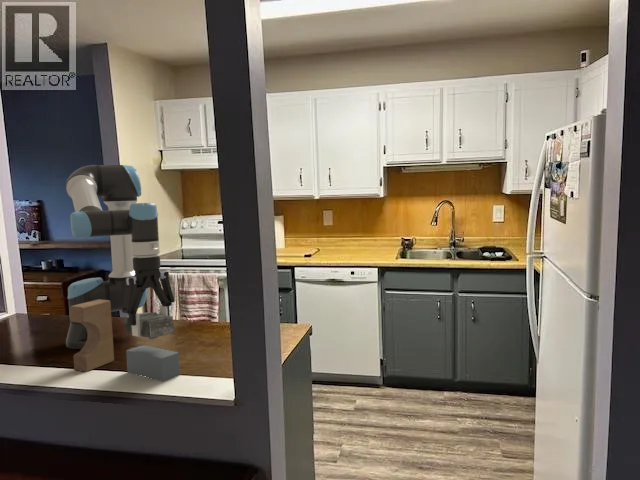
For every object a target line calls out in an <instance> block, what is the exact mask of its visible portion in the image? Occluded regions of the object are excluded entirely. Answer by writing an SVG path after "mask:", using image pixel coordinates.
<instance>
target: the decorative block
mask: <svg viewBox="0 0 640 480" xmlns="http://www.w3.org/2000/svg"><path fill="white" fill-rule="evenodd" d="M70 319H71V322H78V323H81V324H83V325H84V326H85V327H86V329H87V333H88V336H87V341H86V343H85V345H84V347H83V348H82V349H79V350H80V351H78V352H76V353H75V354H73V357H72V358H73V369H74V370H75V371H78V370H81V371H80V372H84V371H87V372H89V370H90V371H93V370H95V369H98V368H100V367H102V366H105V365H107V364H110V363H113V362H114V361H115V351H114V338H113V335H114V334H113V325H112V322H113V321H112V320H113V319H112V312H111V306H110V300H100V299H98V300H94V301H90V302H86V303H82V304H77V305H73V306H70V315H69V320H70Z"/></svg>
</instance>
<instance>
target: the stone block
mask: <svg viewBox="0 0 640 480" xmlns="http://www.w3.org/2000/svg"><path fill="white" fill-rule="evenodd" d="M138 314H139V318H140V334H141V336H140V337H144V338H148V339H150V340H153V339H157V338H159V337H162V336H163V337H164V336H166V335H169V334H172V335H173V334H175V333H176V329H175V325H174V317H173V316H171V315H169V316H167V315H160V313H157V312H156V311H155V312H149V311H148V312H147V311H146V312H140V313H138ZM123 321H124V331H125V332H126V333H130V334H132V325H130V324H129V315H126V316H123Z"/></svg>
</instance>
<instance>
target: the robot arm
mask: <svg viewBox="0 0 640 480" xmlns="http://www.w3.org/2000/svg"><path fill="white" fill-rule="evenodd" d="M65 190H66V193H67V194H68V196H69V198H71V200H72V204H73V208H74V211H73V212H72V213H71V214H70V229H71V235H72V236H73V237H74V238H85V239H87V238H95V237H107V236H110V250H111V253H110V254H111V263H112V264H111V267H112V271H111V272H110V273H109V274H108V280H104V279H103V278H102V277H98V276H97V277H91V278H90V277H89V278H85V279H81V280H77V281H75V282H72V283H71V284H70V285H68V287H67V300H68V310H69V311H68V313H69V316H70V306H73V305H77V304H82V303H86V302H90V301H94V300H98V299H100V300H110V306H111V313H112V312H118V311H119V312H120V311H121V312H122V313H123V314H128V316H129V324H130V325H132V333H131V335H132V336H133V337H139V338H140V337H142V336H141V334H140V318H139V314H140V313H138V310H139V309H140V308H142V307H143V306H145V303H146V300H147V296H148V295H147V294H148V289H149V288H152V290H153V291H154V293H155V295H156V297H157V298H158V300H159V302H160V304H161V305H159V314H160V315H167V316H170V307H171V306H172V303H174V302H175V297H174V294H173V290H172V286H171V283H170V282H171V281H170V272H169V271H163V270H162V271H161V270H160V268H161V257H160V241H159V240H160V239H159V222H158V221H159V219H158V217H159V213H158V209H157V204H156V203H154V202H138V198H139V197H141V196H142V184H141V178H140V175H139V171H138V170H137V168H136V167H135V166H133V165H127V164H125V165H124V164H99V165H98V164H91V165H84V166H81V167H80V168H78V169H75V170H74V171H73V172H72V173H71V174H70V175H69V177H68V178H67V179H66V183H65ZM99 198H103V199H102V200H103V204H105V205H106V206H107V208H108V210H103V208H102V206H101V202H100V200H99ZM137 202H138V203H137ZM87 336H88V333H87V329H86V327H85V326H84V325H83V324H81V323H78V322H71V319H70V318H69V328H68V330H67V334H66V338H65V346H66V347H65V348H67V349H71V350H81V349H82V348H83V347H84V345H85V343H86V341H87Z"/></svg>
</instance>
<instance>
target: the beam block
mask: <svg viewBox="0 0 640 480" xmlns="http://www.w3.org/2000/svg"><path fill="white" fill-rule="evenodd" d="M125 352H126V353H125V354H126V356H125V357H126V367H127V368H126V369H127V371H126V372H127V373H129V374H133V375H135V374H137V376H139V375H142V376H141V377H143V376H146V377H149V378H148V379H150V378H152V379H151V380H154V379H155V381H159V382H162V383H164V382H166V381H168V380H169V381H170V380H171V379H174V378H176V377H179V376H180V374H181V373H180V372H181V371H180V356H179V355H180V354H179V353H180V352H178V351H173V350H169V349H168V350H167V349H162V348H159V347H154V346H149V345H145V344H142V345H139V346H135V347H132V348H129V349H127V350H125ZM146 377H145V378H146Z"/></svg>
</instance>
